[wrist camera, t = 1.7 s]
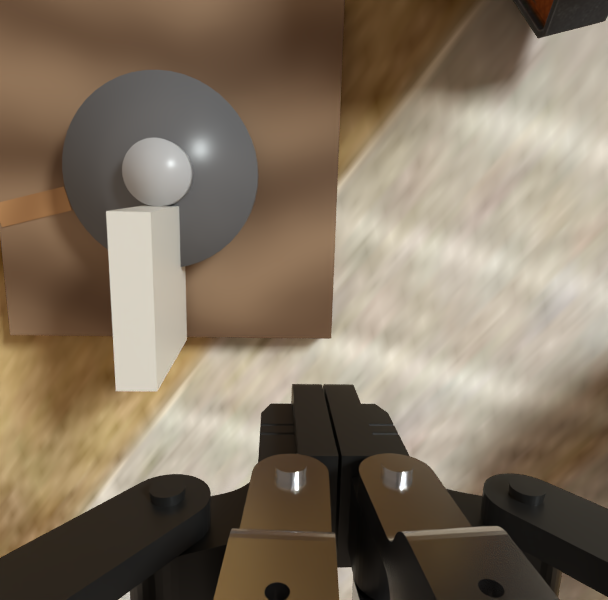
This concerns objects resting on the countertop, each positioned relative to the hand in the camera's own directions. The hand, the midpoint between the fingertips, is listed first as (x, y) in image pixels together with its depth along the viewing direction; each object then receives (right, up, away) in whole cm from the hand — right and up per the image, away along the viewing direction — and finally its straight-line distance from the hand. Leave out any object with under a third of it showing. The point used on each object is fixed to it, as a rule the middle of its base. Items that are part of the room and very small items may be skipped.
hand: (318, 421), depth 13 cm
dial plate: (-7, +10, +15) cm, 19 cm away
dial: (-7, +7, +13) cm, 17 cm away
